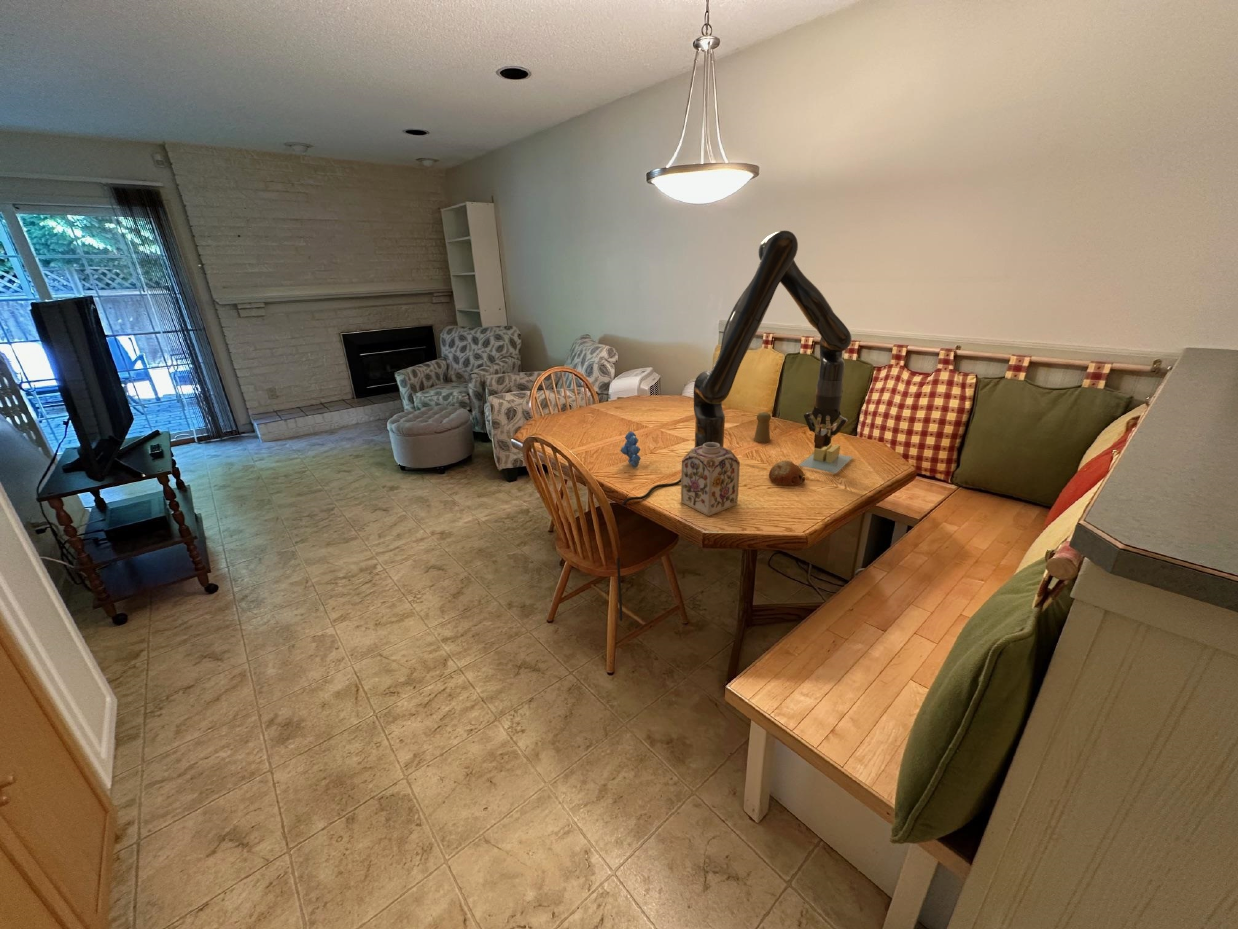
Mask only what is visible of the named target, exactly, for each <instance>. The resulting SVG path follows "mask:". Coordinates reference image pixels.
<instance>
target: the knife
mask: <svg viewBox="0 0 1238 929" xmlns="http://www.w3.org/2000/svg"><path fill="white" fill-rule="evenodd" d="M837 426H838V422H836V423H834V426H833V430H835V429H836V428H837ZM826 433H827V429H826V427H825V428H822V429H821V431H820V432H819V433H818V434H816V438H815V443H814V446H813V448H817V449H822V448H823V447H825V446H824V445H825V437H826ZM835 436H836V435H832V438H834V437H835Z"/></svg>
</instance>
